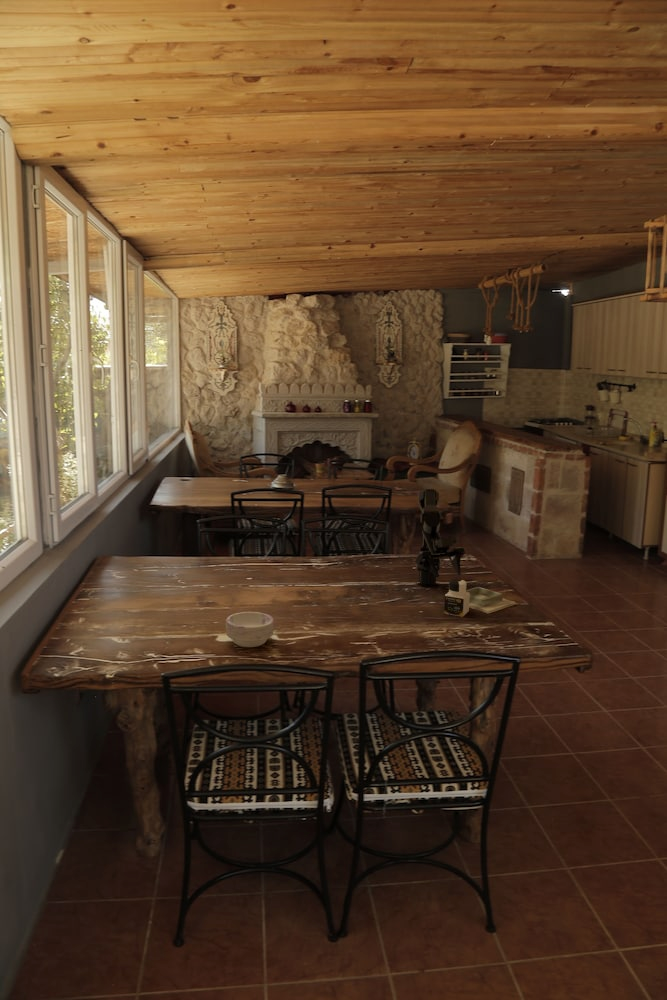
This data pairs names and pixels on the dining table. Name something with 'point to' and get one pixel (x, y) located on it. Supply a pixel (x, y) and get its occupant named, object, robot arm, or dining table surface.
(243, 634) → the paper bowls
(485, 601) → the holder board
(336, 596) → the dining table surface
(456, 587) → the medicine bottle
